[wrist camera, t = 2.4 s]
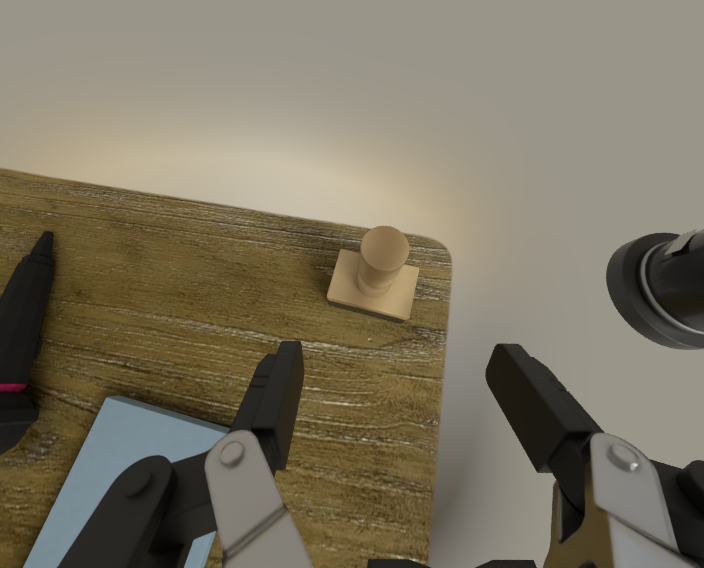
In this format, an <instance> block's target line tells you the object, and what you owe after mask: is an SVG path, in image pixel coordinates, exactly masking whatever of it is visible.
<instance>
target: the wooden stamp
mask: <svg viewBox="0 0 704 568" xmlns="http://www.w3.org/2000/svg"><path fill="white" fill-rule="evenodd" d="M408 255H409V244H408V241H407V239H406V237H405V236H404V235H403V234H402V233H401V232H400V231H399V230H397V229H395V228H393V227H390V226H379V227H376V228H373V229H371V230H369V231H368V232H367V233H366V234H365V235H364V237H363V239H362V241H361V247H360V253H356V252H352V251H348V250H344V249H341V250H340V253H339V256H338V260H337V263H336V266H335V270H334V273H333V276H332V280H331V283H330V286H329V290H328V293H327V299H328V302H329V304H330V305H331V306H335V307H338V308H342V309H346V310H350V311H354V312H358V313H361V314H365V315H369V316H373V317H377V318H381V319H384V320H388V321H392V322H396V323H400V324H401V323H402V322H404V321H406V320H407V319H409V318H410V313H411V308H412V303H413V298H414V293H415V288H416V283H417V278H418V273H419V268H417V267H413V266H409V265H405V264H404V263H405V261H406V260H407V258H408Z"/></svg>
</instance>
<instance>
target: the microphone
mask: <svg viewBox="0 0 704 568" xmlns="http://www.w3.org/2000/svg"><path fill="white" fill-rule="evenodd" d="M53 235H54V234H53V232H50V231H45V232H44V233H43V234H42V236H41V237H40V239H39V240H38V242H37V243H36V245H35V246H34V248H33V250H32V252H31V254H29V255H27V256H25V257H23V258H22V261H21V263H18V265H17V267H16V268H15V270H14V272H13V274H12V276H11V278H10V280H9V282H8V284H7V286H6V288H5V290H4V292H3V294H2V296H1V298H0V455H2V454H3V453H5V452H6V451H8V450H10V449H11V448H13V447H14V446H16V444H17V443H18V442H19V441H20V439H21V438H22V437H23V435H24V434H25V432H26V431H27V429H28V427H29V425H30V424H31V423H33V422H35V421H37V420H38V415H39V411H40V410H38V409H34V408H33V406H32V403H31V401H30V399H28V398H27V397H25V396H24V395H22V394H20V393H19V391H21V390H22V389H23V388H25V387H26V386H27V384H28V380H29V376H30V371H31V367H32V363H33V359H35V358H37V357H38V355H39V353H40V349H41V344H42V339H39V338H38V337H39V333H40V329H41V325H42V320H43V316H44V312H45V308H46V303H47V299H48V295H49V291H50V286H51V282H52V278H53V274H54V269H53V266H54V263H55V261H53V260H51V259H50V258H51V254H52V245H53Z"/></svg>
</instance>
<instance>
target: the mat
mask: <svg viewBox="0 0 704 568" xmlns="http://www.w3.org/2000/svg"><path fill="white" fill-rule="evenodd" d="M229 430H230V428H227V427H223V426H220V425H217V424H213V423H210V422H207V421H203V420H200V419H197V418H193V417H190V416H187V415H183V414H180V413H177V412H173V411H170V410H167V409H163V408H160V407H157V406H153V405H150V404H147V403H143V402H140V401H137V400H134V399H130V398H127V397H124V396H120V395H117V396H111V397H106V399H105V401H104V403H103V405H102V407H101V409H100V411H99V413H98V415H97V417H96V420H95V422H94V424H93V426H92V428H91V430H90V432H89V434H88V436H87V438H86V440H85V442H84V444H83V446H82V448H81V450H80V452H79V454H78V456H77V458H76V460H75V462H74V464H73V466H72V468H71V471H70V473H69V475H68V477H67V479H66V481H65V483H64V485H63V487H62V489H61V491H60V493H59V495H58V497H57V499H56V501H55V503H54V505H53V507H52V509H51V511H50V513H49V515H48V517H47V519H46V522H45V524H44V526H43V528H42V530H41V532H40V534H39V536H38V538H37V540H36V542H35V544H34V546H33V548H32V550H31V552H30V554H29V556H28V558H27V560H26V562H25V564H24V566H23V568H57V567H58V565H59V564H60V562H61V561H62V559H63V558H64V556H65V554H66V553H67V551H68V550H69V548H70V547H71V545H72V544H73V542H74V541H75V539H76V538H77V536H78V535H79V533H80V532H81V530H82V528H83V527H84V525H85V524H86V522H87V521H88V519H89V518H90V516H91V515H92V513H93V512H94V510H95V509H96V507H97V506H98V504H99V503H100V501H101V499H102V498H103V496H104V495H105V493H106V492H107V490H108V489H109V487H110V486H111V484H112V483H113V482H114V480H115V479H116V478H117V477H118V476H119V475H120V474H121V473H122V472H123V471H124V470H125V469H127V468H128V467H129V466H130V465H132V464H133V463H135V462H137V461H139V460H140V459H143V458H145V457H148V456H153V455H161V456H164V457H166V458H167V459H168V460H169V461H170V462H171V463H173V462H176V461H179V460H182V459H185V458H188V457H191V456H195V455H198V454H201V453H203V452H206V451H207V450H209V449H211V448H212V447H213V446H214V444H215V443H216V442H217V441H218V440H219V439H221V438H222V437H223V436H225V435H226V434H227V433H228V432H229ZM215 533H216V531H214V532H212V533H209V534H207V535H204V536H202V537H199V538H197V539H195V540H194V541H193V543H192V546H191V549H190V552H189V555H188V558H187V560H186V563H185V566H184V568H204V566H205V563H206V560H207V557H208V554H209V551H210V548H211V545H212V542H213V539H214V536H215Z"/></svg>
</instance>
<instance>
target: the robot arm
mask: <svg viewBox="0 0 704 568" xmlns="http://www.w3.org/2000/svg"><path fill="white" fill-rule="evenodd" d="M695 231H696V230H693V231H691V232H688V233H685V234H683V235H680V236H679V237H678V238H677V239H675V240H672V241H667V242H663V243H660V244H658V245H655V246H653V247H651V248H649V249H647V250H646V251H645V252H644V253H643V254H642V255H641V257H640V258H639V260H638V263H637V267H636V280H637V285H638V288H639V290H640V293H641V295H642V297H643V298H644V300H645V302H646V303H647V304H648V306H649V307H650V308H651V309H652V311H653V312H654V313H655V314H656V315H657V316H659V317H660V318H661V319H662V320H664V321H665V322H666V323H668V324H669V325H671V326H673V327H675V328H677V329H679V330H681V331H684V332H687V333H690V334H695V335H704V229H703V230H700V231H697V232H695ZM303 380H304V363H303V354H302V345H301V341H282V342H281V343H280V346H279V349H278V352H277V354H267V355H266V356H265V357H264V358H263V359H262V360H261V361H260V363H259V364H258V366H257V368H256V370H255V373H254V375H253V378H252V380H251V382H250V384H249V388H248V389H247V391H246V394H245V396H244V398H243V401H242V403H241V405H240V408H239V410H238V413H237V415H236V417H235V420H234V422H233V424H232V426H231V428H230V430H229V432H228V433H227V434H226V435H225V436H223V437H222V438H221V439H219V440H218V441H217V442H216V443H215V444H214V446H213V447H212V448H211V449H209V450H207V451H206V452H203V453H201V454H198V455H195V456H191V457H188V458H185V459H182V460H179V461H176V462H173V463H171V462H170V461H169V460H168V459H167V458H166V457H164V456H161V455H153V456H148V457H145V458H143V459H140V460H139V461H137V462H135V463H133V464H132V465H130V466H129V467H128V468H127V469H125V470H124V471H123V472H122V473H121V474H120V475H119V476H118V477H117V478H116V479H115V480H114V482H113V483H112V484H111V486H110V487H109V489H108V490H107V492H106V493H105V495H104V496H103V498H102V499H101V501H100V503H99V504H98V506H97V507H96V509H95V510H94V512H93V513H92V515H91V516H90V518H89V519H88V521H87V522H86V524H85V525H84V527H83V528H82V530H81V532H80V533H79V535H78V536H77V538H76V539H75V541H74V542H73V544H72V545H71V547H70V548H69V550H68V551H67V553H66V554H65V556H64V558H63V559H62V561H61V562H60V564H59V565H58V567H57V568H184V566H185V563H186V560H187V558H188V555H189V552H190V549H191V546H192V543H193V541H194V540H195V539H197V538H199V537H202V536H204V535H207V534H209V533H212V532H214V531H216V530H218V532H219V536H220V541H221V545H222V551H223V558H222V568H314V567H313V565H312V562H311V560H310V558H309V555H308V553H307V550H306V548H305V546H304V543H303V541H302V539H301V536H300V534H299V532H298V529H297V527H296V525H295V522H294V520H293V518H292V516H291V513H290V511H289V509H288V508H287V506H286V505H285V503H284V501H283V499H282V496H281V494H280V492H279V489H278V487H277V484H276V482H275V480H274V477H275V473H276V470H285V469H286V464H287V459H288V454H289V449H290V444H291V439H292V434H293V430H294V425H295V420H296V415H297V410H298V405H299V400H300V395H301V390H302V386H303ZM486 381H487V384H488V386H489V388H490V390H491V391H492V393H493V395H494V397H495V398H496V400H497V402H498V404H499V406H500V407H501V409H502V411H503V412H504V414H505V416H506V418H507V420H508V422H509V423H510V425H511V427H512V429H513V430H514V432H515V434H516V436H517V438H518V439H519V441H520V443H521V444H522V446H523V448H524V450H525V451H526V453H527V455H528V457H529V459H530V461H531V462H532V464H533V466H534V468H535V469H536V471H537V473H553V475H554V477H555V478H556V481H555V483H554V486H553V502H552V524H551V543H550V549H549V552H548V555H547V557H546V560H545V562H544V566H543V568H704V461H701V460H696V461H693V462H691V463H690V464H689V465H687V466H686V467H685V468H684V469H681V468H677V467H674V466H670V465H667V464H664V463H660V462H657V461H654V460H650V459H648V458H647V457H646V456H645V455H644V454H643V453H642V452H641V451H640V450H638V449H637V448H636V447H634V446H633V445H631V444H630V443H628V442H627V441H625V440H623V439H621V438H619V437H616V436H614V435H611V434H607V433H605V432H604V431H603V430H602V429H601V428H600V427H599V426H598V425H597V423H596V422H595V421H594V420H593V419H592V418H591V417H590V415H589V414H588V413H587V412H586V411H585V410H584V409H583V407H582V406H581V405H580V404H579V403H578V402H577V401H576V399H574V397H573V396H572V395H571V394H570V393H569V392H567V391H566V388H565V387H564V386H563V385H562V384H561V382H559V381H558V379H557V378H556V377H555V375H554V374H553V373H552V372H551V371H550V370H549V369H548V367H546V366H545V365H544V364H542V363H541V362H539V361H538V360H537V359H535V358H534V357H530V356H529V355H528V353H527V352H526V351H525V350H524V349H523V348H522V346H521V345H519V344H497V345H496V346H495V348H494V350H493V353H492V356H491V358H490V361H489V363H488V366H487V368H486ZM367 568H430V567H428V566H425V565H422V564H420V563H417V562H414V561H412V560H407V559H368V565H367ZM476 568H537V567H536V565H535V563H534V560H492V561H489V562H487V563H485V564H483V565H480V566H478V567H476Z"/></svg>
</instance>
